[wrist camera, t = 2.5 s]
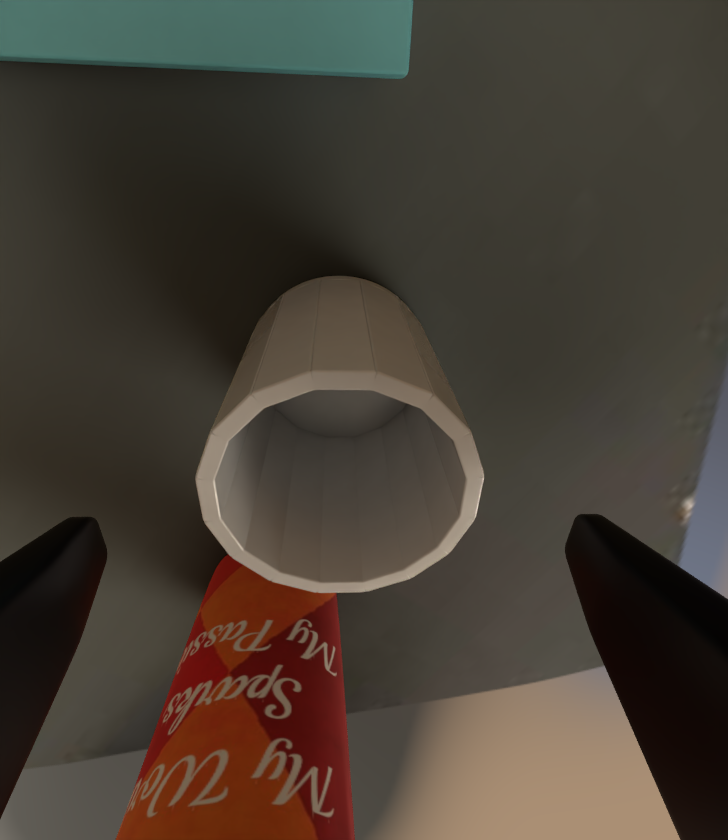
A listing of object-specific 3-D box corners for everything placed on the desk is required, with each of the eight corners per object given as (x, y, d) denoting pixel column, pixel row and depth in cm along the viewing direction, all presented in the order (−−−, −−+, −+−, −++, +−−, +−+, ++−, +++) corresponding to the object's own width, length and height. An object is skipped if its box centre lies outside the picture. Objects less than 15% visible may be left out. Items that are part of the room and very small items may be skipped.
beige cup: (436, 277, 15) (507, 372, 9) (418, 437, 18) (461, 591, 12) (241, 273, 14) (172, 369, 8) (258, 438, 17) (217, 596, 11)
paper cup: (342, 509, 19) (354, 1120, 7) (369, 623, 23) (405, 1141, 11) (158, 537, 19) (-125, 1171, 7) (216, 645, 23) (91, 1174, 11)
